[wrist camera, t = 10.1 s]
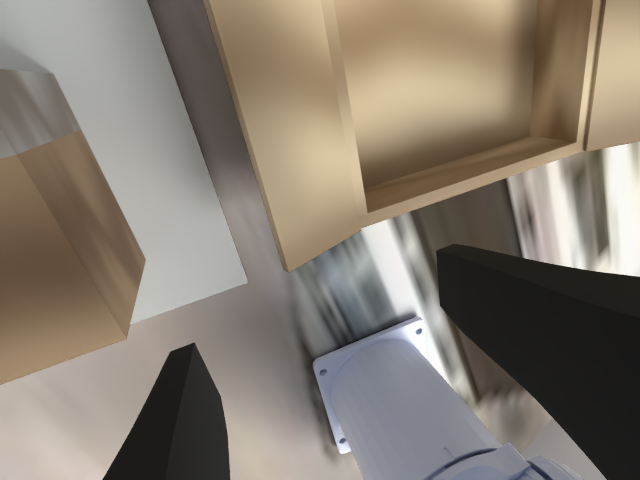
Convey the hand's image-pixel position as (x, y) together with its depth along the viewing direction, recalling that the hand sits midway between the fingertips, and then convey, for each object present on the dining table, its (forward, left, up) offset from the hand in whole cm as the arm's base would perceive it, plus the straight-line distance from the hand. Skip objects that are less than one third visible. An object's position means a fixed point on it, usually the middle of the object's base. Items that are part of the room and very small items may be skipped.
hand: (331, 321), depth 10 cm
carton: (+6, -10, -9) cm, 15 cm away
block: (+4, +8, -9) cm, 13 cm away
